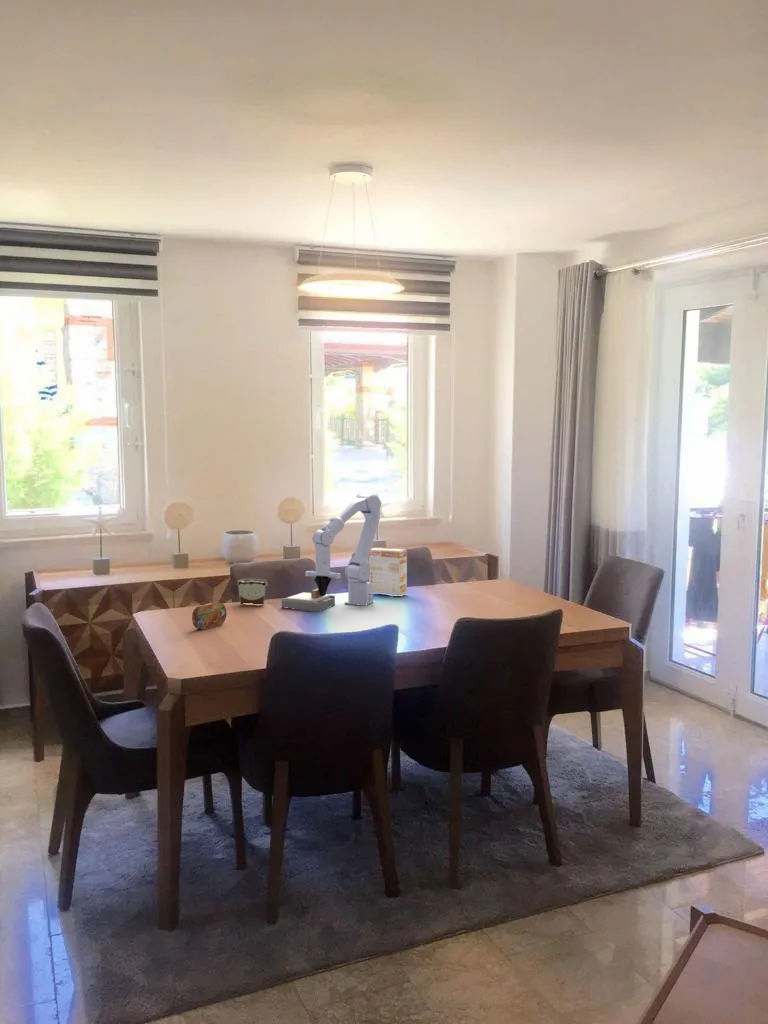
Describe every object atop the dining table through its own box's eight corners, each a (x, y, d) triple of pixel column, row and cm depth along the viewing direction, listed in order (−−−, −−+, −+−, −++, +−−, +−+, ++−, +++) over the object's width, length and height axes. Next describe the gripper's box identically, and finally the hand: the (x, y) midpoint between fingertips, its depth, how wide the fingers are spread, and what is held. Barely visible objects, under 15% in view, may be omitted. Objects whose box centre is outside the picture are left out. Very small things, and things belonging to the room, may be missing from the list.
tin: (197, 631, 295) (196, 607, 294) (190, 630, 297) (190, 606, 296) (227, 624, 308) (227, 600, 307) (220, 622, 309) (220, 599, 309)
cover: (329, 597, 342) (329, 587, 342) (313, 602, 331) (313, 592, 330) (303, 594, 347) (303, 585, 347) (286, 600, 336) (286, 590, 335)
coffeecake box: (407, 595, 366) (407, 549, 364) (398, 597, 360) (399, 551, 358) (377, 591, 374) (377, 546, 372) (368, 594, 367) (368, 548, 366)
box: (334, 605, 342) (334, 595, 342) (317, 611, 330) (317, 601, 329) (299, 601, 349) (299, 592, 349) (281, 608, 336) (281, 598, 336)
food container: (270, 603, 346) (270, 578, 345) (267, 606, 340) (267, 581, 339) (240, 602, 348) (240, 577, 347) (236, 605, 341) (236, 580, 341)
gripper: (301, 561, 334) (301, 595, 335) (334, 563, 328) (334, 598, 330) (310, 558, 341) (310, 592, 342) (343, 561, 335) (343, 595, 336)
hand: (322, 595), depth 336 cm, fingers closed
